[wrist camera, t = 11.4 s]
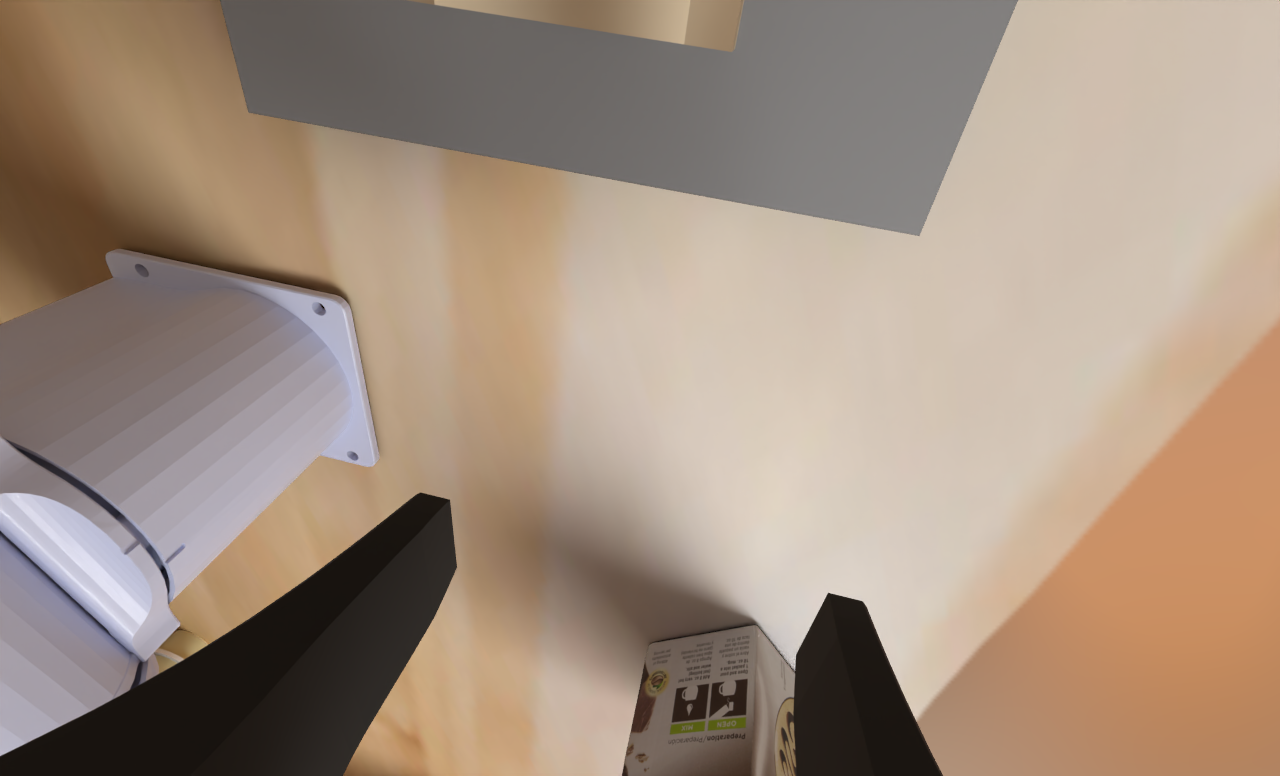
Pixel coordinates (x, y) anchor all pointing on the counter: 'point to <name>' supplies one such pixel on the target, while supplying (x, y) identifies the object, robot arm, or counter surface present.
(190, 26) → the counter surface
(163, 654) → the cream layered block
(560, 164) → the plate
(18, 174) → the counter surface
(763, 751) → the coffee box
